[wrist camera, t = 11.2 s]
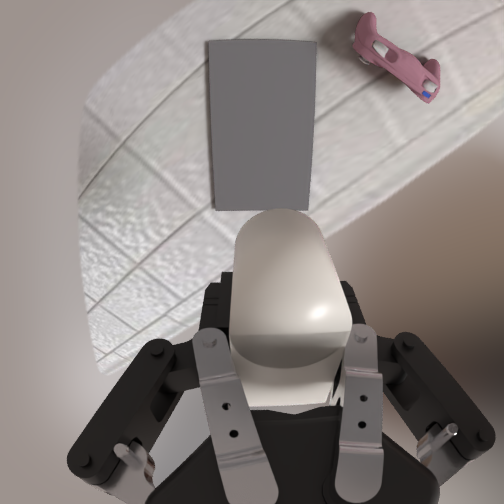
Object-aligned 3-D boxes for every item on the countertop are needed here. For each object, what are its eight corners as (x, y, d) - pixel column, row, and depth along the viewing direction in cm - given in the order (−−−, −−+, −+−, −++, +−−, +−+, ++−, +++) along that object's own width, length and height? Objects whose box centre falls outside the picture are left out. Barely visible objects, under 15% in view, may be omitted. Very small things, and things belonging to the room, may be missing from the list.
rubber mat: (209, 41, 23) (208, 40, 23) (315, 42, 24) (316, 42, 23) (216, 208, 33) (215, 210, 33) (307, 208, 33) (308, 210, 33)
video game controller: (342, 37, 24) (347, 60, 21) (364, 6, 20) (376, 21, 17) (415, 87, 27) (431, 119, 23) (438, 61, 23) (461, 89, 19)
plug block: (233, 208, 13) (225, 287, 8) (328, 209, 13) (364, 284, 8) (239, 352, 18) (238, 426, 14) (305, 351, 18) (316, 423, 14)
